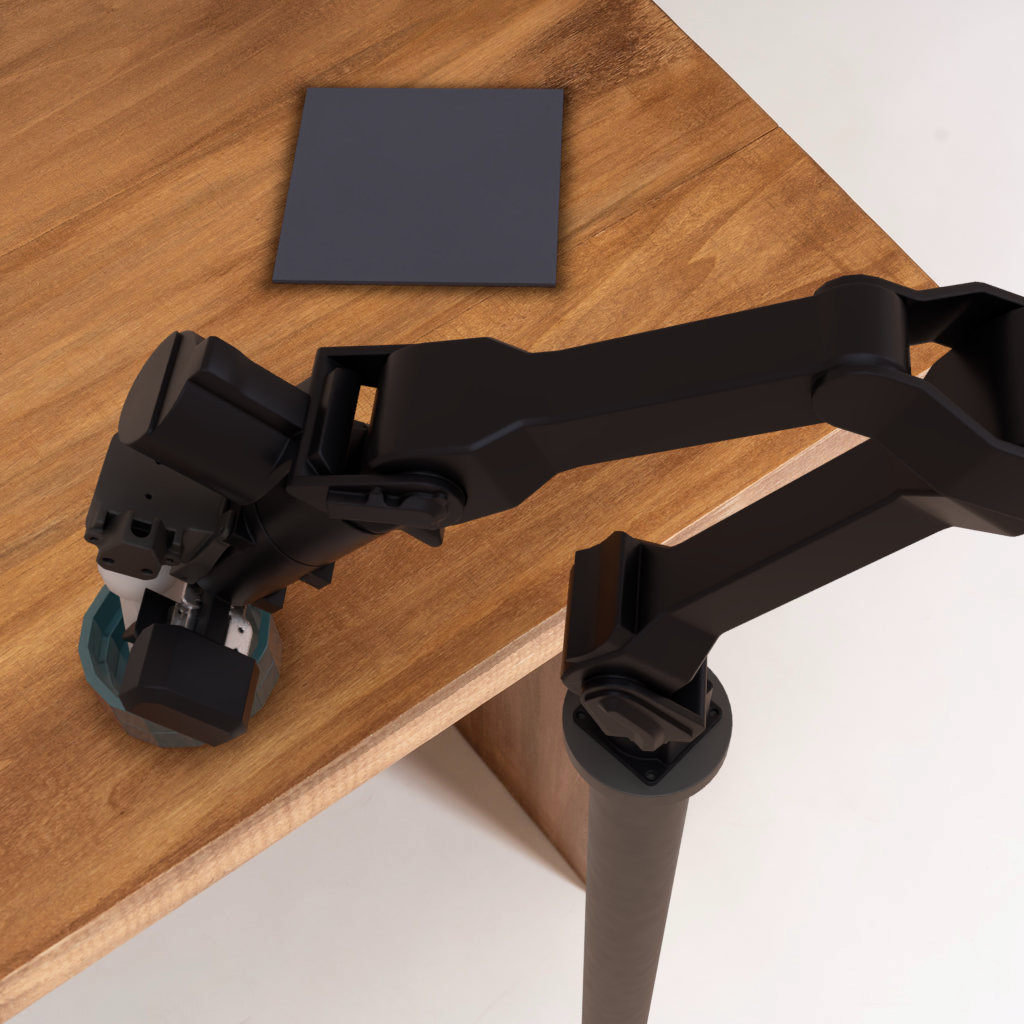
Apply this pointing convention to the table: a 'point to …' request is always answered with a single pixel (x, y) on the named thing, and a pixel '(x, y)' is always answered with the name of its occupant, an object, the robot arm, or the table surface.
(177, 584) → the salt shaker
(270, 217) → the table surface
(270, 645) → the blue-grey round bowl
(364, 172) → the cloth
